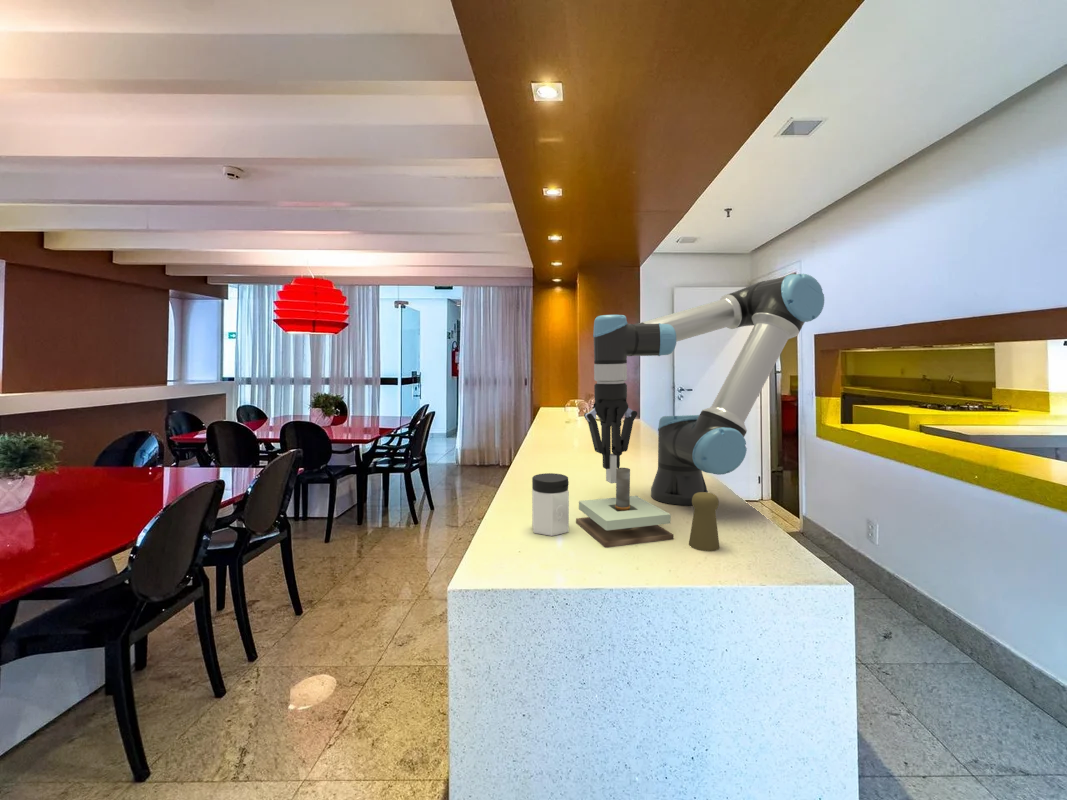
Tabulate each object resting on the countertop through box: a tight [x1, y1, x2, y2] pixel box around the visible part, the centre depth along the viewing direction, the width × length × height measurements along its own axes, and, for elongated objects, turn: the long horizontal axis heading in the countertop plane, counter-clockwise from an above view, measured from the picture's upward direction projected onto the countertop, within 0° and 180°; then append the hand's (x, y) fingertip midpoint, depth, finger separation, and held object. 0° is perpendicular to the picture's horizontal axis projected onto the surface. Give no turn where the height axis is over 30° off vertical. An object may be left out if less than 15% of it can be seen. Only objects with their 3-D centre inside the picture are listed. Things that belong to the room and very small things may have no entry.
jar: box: [531, 472, 570, 537], centre depth 111 cm, size 9×8×12 cm
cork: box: [688, 491, 720, 552], centre depth 101 cm, size 6×6×11 cm
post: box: [575, 467, 674, 548], centre depth 110 cm, size 16×16×14 cm
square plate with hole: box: [578, 495, 672, 531], centre depth 110 cm, size 15×15×2 cm
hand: (611, 481), depth 117 cm, fingers closed
